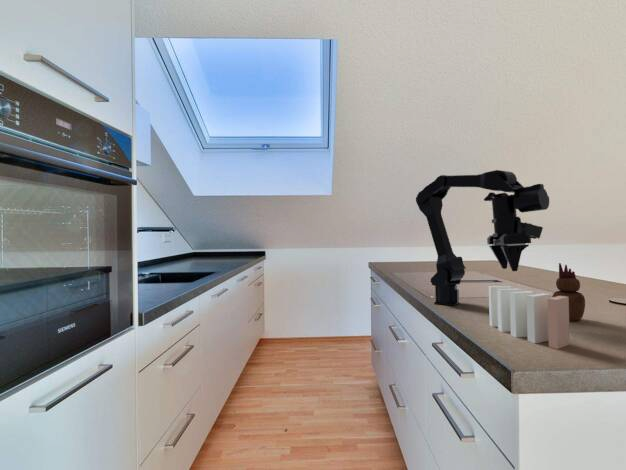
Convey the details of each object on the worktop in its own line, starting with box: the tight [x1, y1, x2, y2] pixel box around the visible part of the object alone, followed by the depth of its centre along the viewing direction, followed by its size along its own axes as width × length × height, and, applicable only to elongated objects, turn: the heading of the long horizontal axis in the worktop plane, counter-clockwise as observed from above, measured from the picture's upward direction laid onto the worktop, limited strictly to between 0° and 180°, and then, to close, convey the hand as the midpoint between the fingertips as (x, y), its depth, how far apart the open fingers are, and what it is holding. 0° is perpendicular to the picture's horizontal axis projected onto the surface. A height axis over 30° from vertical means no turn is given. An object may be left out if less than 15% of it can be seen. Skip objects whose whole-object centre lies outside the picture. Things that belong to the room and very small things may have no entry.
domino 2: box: [497, 288, 523, 333], centre depth 78 cm, size 2×5×10 cm, turn 89°
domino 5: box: [548, 296, 571, 350], centre depth 67 cm, size 2×5×10 cm, turn 119°
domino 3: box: [510, 290, 536, 339], centre depth 74 cm, size 2×5×10 cm, turn 99°
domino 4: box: [527, 292, 551, 344], centre depth 70 cm, size 2×5×10 cm, turn 109°
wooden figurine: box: [551, 262, 586, 322], centre depth 86 cm, size 7×6×15 cm
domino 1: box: [488, 285, 514, 328], centre depth 82 cm, size 2×5×10 cm, turn 79°
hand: (509, 269), depth 91 cm, fingers open, 9 cm apart
